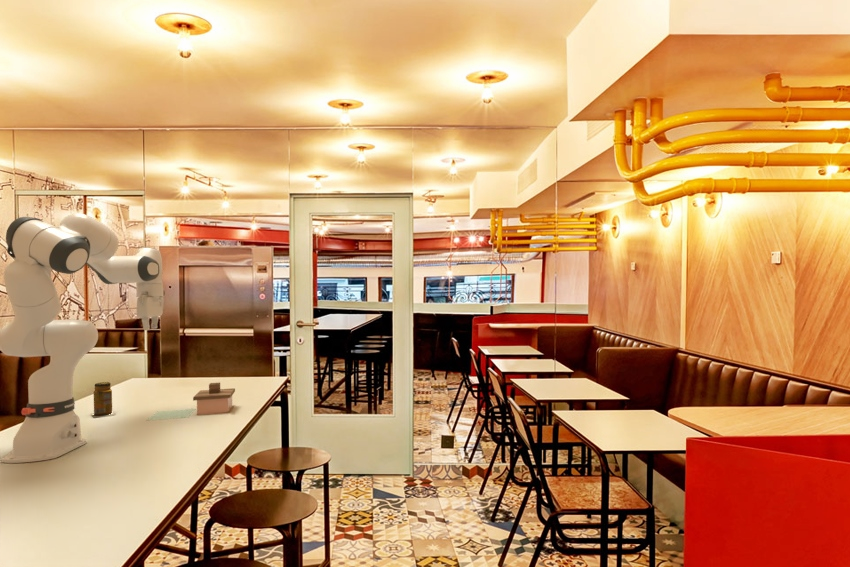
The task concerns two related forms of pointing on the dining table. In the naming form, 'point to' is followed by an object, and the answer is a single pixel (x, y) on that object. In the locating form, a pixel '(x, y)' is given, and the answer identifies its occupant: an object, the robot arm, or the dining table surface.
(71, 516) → the dining table surface
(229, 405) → the pink rectangular planter
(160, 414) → the pale green square mat
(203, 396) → the walnut lid
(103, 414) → the condiment
